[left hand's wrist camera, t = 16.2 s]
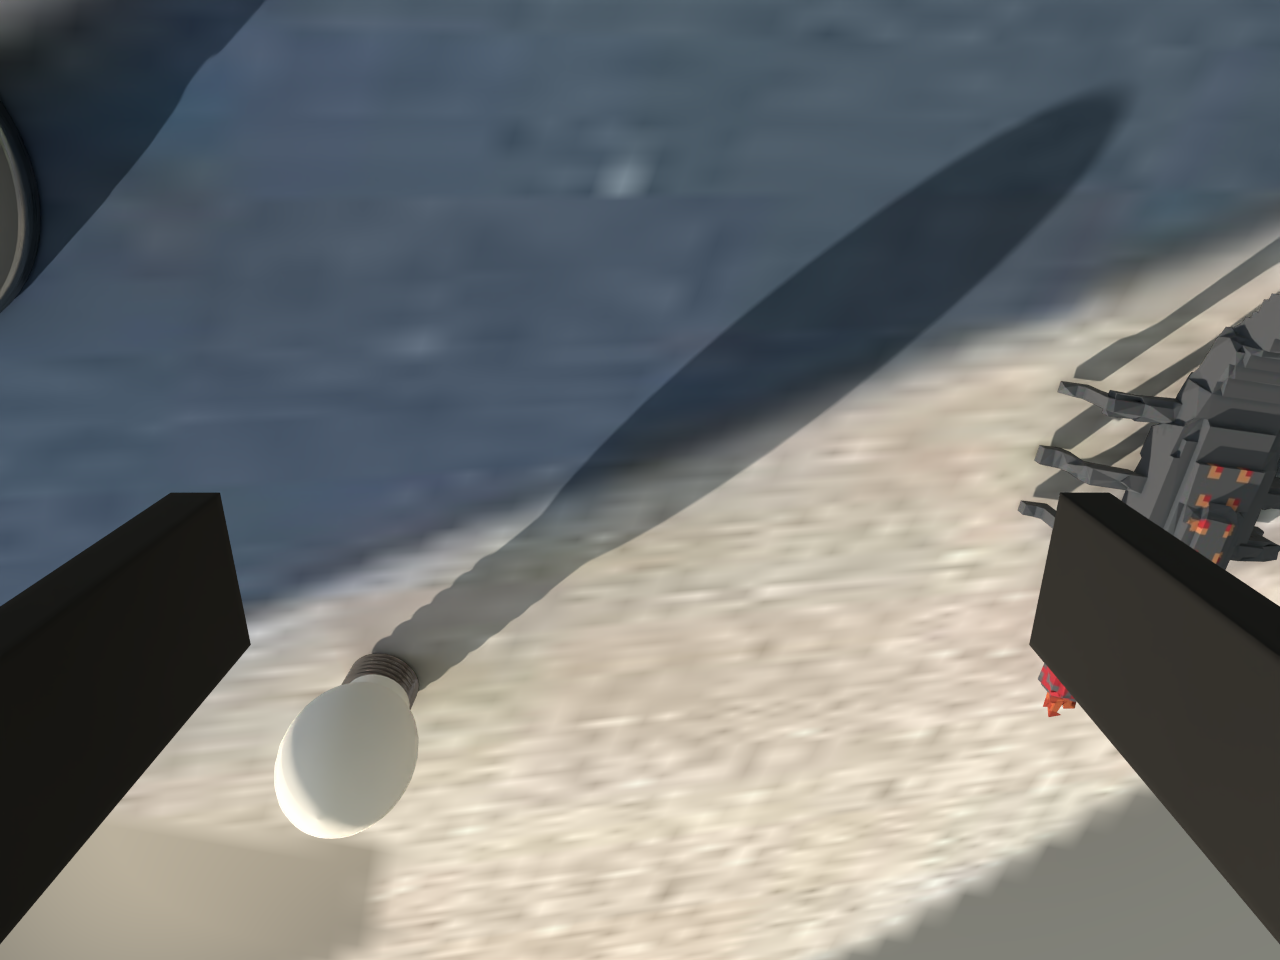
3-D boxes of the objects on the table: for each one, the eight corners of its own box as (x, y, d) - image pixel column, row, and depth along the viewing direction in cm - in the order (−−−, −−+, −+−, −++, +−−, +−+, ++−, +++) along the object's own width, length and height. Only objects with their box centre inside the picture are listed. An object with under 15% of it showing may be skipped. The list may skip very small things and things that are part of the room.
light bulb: (309, 688, 47) (218, 830, 37) (367, 609, 45) (287, 736, 35) (406, 744, 49) (344, 895, 38) (466, 670, 47) (417, 808, 37)
